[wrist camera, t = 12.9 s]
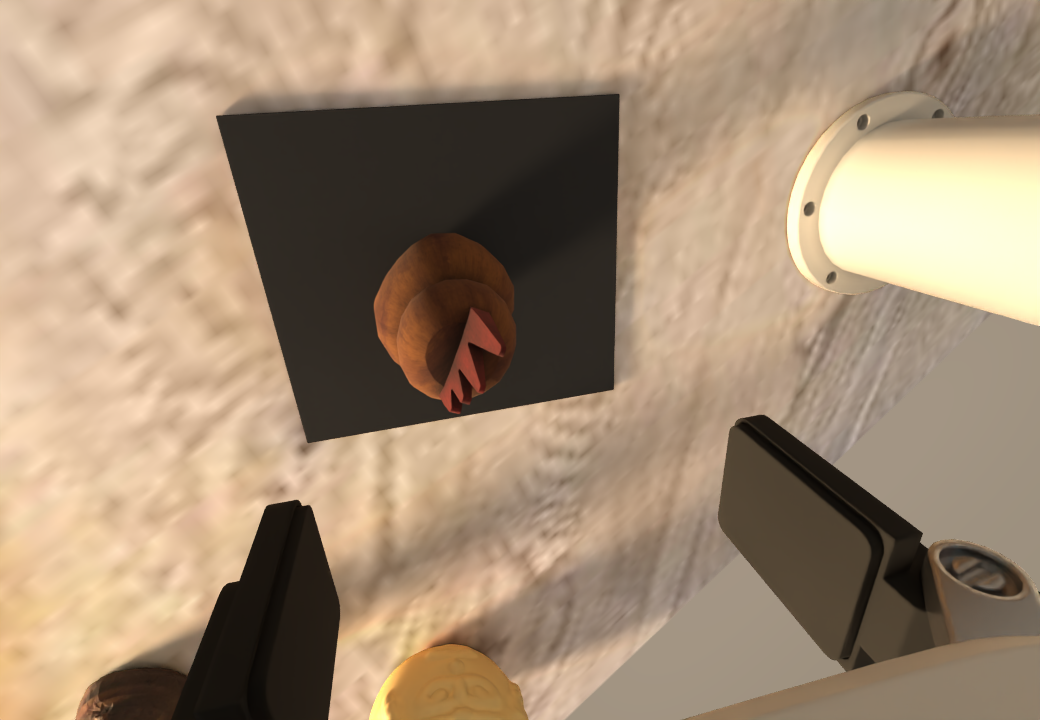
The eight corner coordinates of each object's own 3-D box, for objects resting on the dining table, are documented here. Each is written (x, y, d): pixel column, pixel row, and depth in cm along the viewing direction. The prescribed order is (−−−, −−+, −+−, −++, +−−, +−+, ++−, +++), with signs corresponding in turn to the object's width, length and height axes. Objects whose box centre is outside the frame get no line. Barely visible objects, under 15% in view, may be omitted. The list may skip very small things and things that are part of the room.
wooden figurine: (436, 200, 27) (485, 260, 14) (511, 270, 29) (616, 378, 16) (356, 294, 28) (328, 436, 14) (436, 354, 30) (475, 522, 17)
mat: (618, 94, 27) (619, 94, 27) (612, 388, 35) (613, 389, 34) (216, 115, 23) (215, 115, 23) (307, 441, 31) (307, 443, 31)
